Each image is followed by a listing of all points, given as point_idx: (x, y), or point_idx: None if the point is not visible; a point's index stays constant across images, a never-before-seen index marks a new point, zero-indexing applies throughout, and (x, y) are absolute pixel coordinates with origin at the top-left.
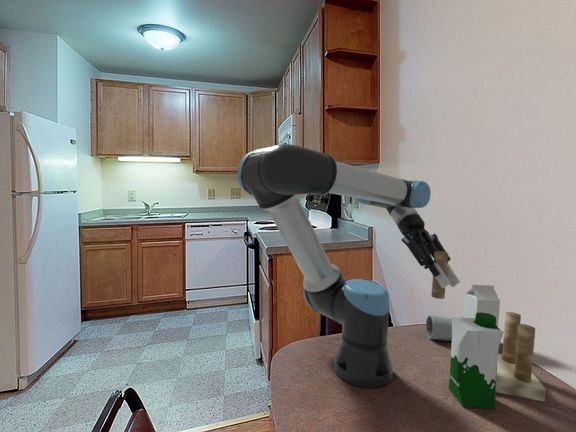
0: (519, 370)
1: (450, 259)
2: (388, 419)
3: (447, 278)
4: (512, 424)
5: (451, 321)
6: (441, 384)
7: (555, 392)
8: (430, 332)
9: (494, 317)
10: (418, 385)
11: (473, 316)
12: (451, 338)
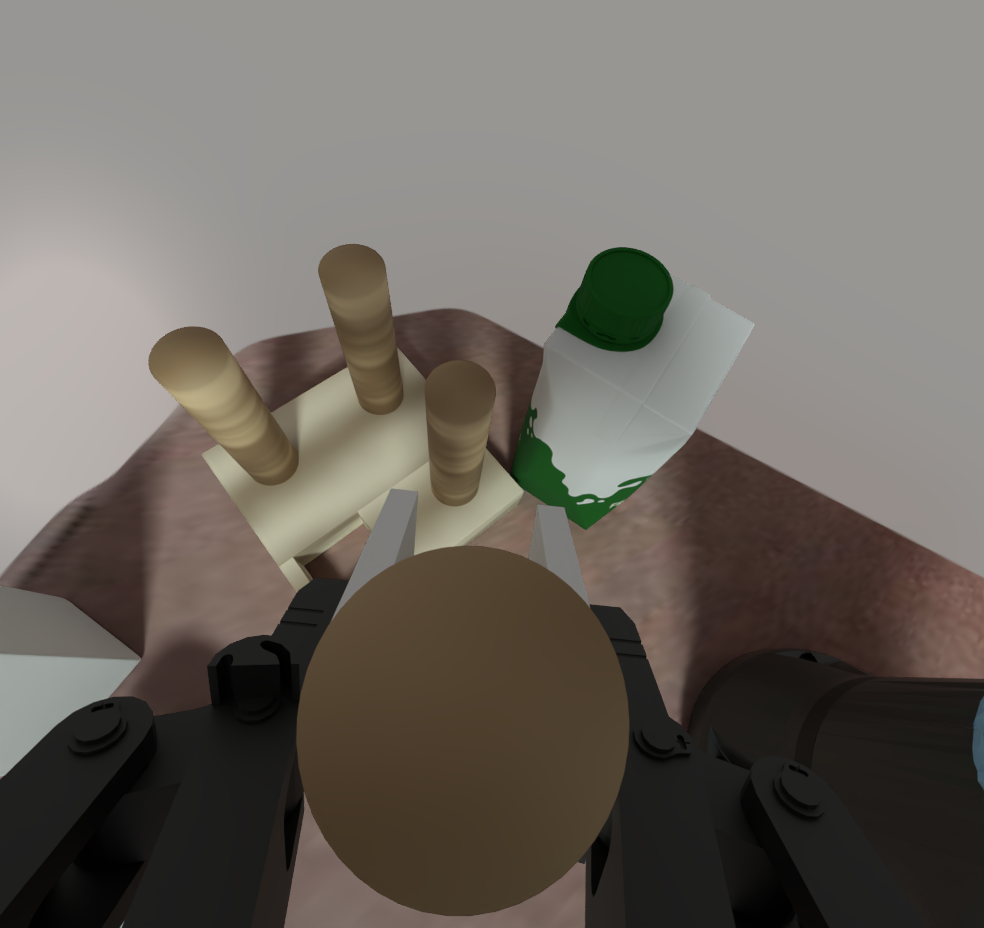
0: (400, 380)
1: (99, 703)
2: (853, 537)
3: (544, 530)
4: None
5: None
6: (584, 556)
7: (310, 360)
8: None
9: (606, 256)
10: (661, 592)
11: (15, 684)
12: None
